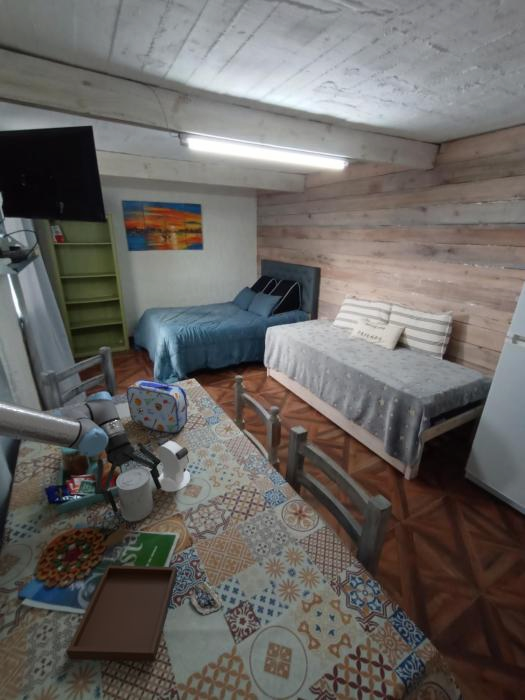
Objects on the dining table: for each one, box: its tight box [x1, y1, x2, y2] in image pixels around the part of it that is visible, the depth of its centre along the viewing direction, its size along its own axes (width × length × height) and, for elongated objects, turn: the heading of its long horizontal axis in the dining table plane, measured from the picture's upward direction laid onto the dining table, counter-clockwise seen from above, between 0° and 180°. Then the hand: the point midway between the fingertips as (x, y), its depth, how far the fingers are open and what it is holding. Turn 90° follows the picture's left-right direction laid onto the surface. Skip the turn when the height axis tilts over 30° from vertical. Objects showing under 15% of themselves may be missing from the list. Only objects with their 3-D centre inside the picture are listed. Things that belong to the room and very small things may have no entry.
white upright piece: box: [156, 436, 191, 493], centre depth 110 cm, size 12×11×15 cm
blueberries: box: [189, 581, 223, 616], centre depth 76 cm, size 7×8×2 cm
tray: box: [66, 564, 178, 663], centre depth 73 cm, size 18×18×3 cm
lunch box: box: [126, 378, 190, 434], centre depth 139 cm, size 28×10×22 cm, turn 73°
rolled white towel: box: [115, 466, 154, 522], centre depth 98 cm, size 10×10×12 cm
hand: (139, 500), depth 97 cm, fingers open, 13 cm apart
